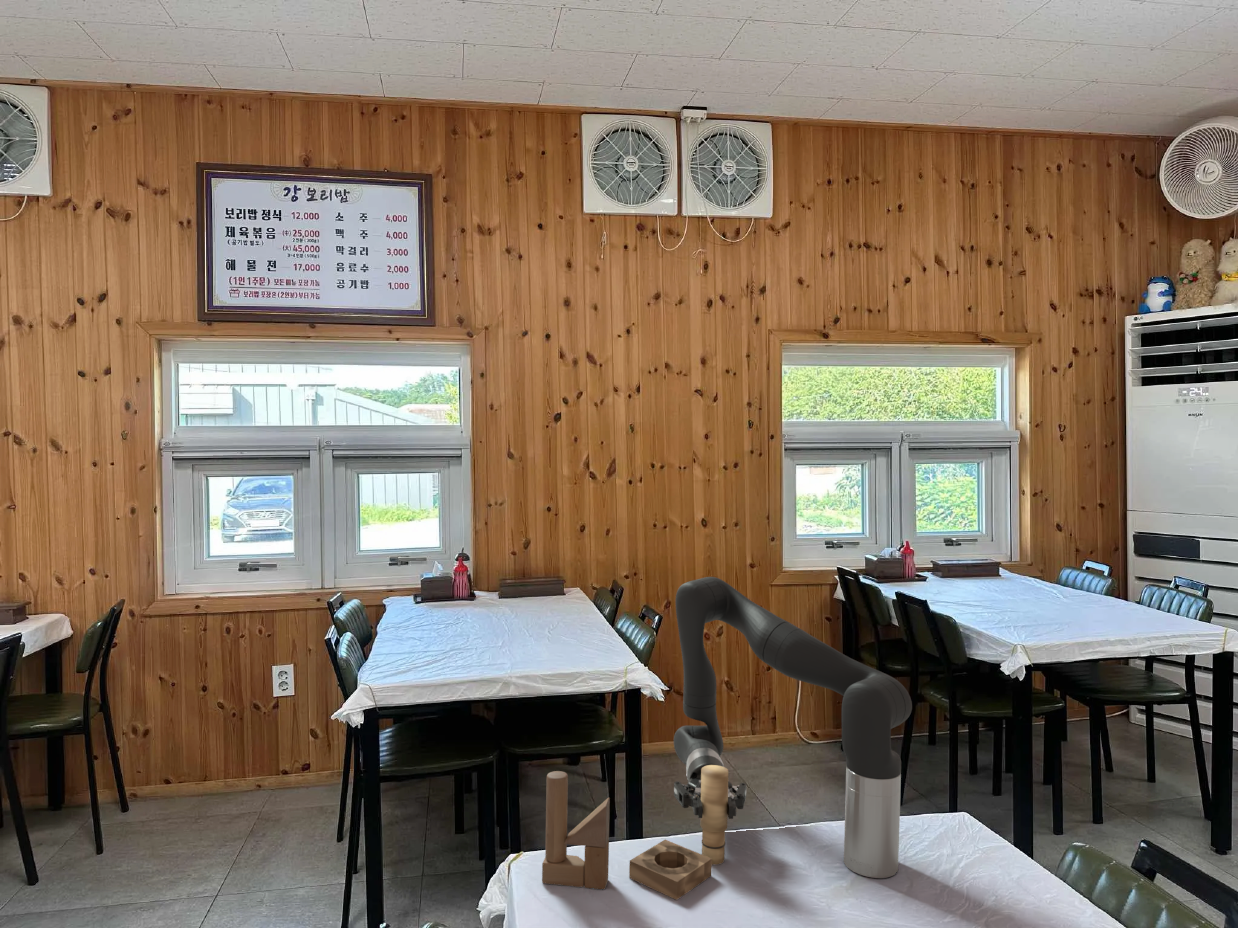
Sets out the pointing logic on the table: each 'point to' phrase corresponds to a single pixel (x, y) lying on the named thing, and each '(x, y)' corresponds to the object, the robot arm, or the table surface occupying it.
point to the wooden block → (574, 840)
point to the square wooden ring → (670, 869)
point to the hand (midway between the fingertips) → (715, 812)
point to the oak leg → (714, 811)
